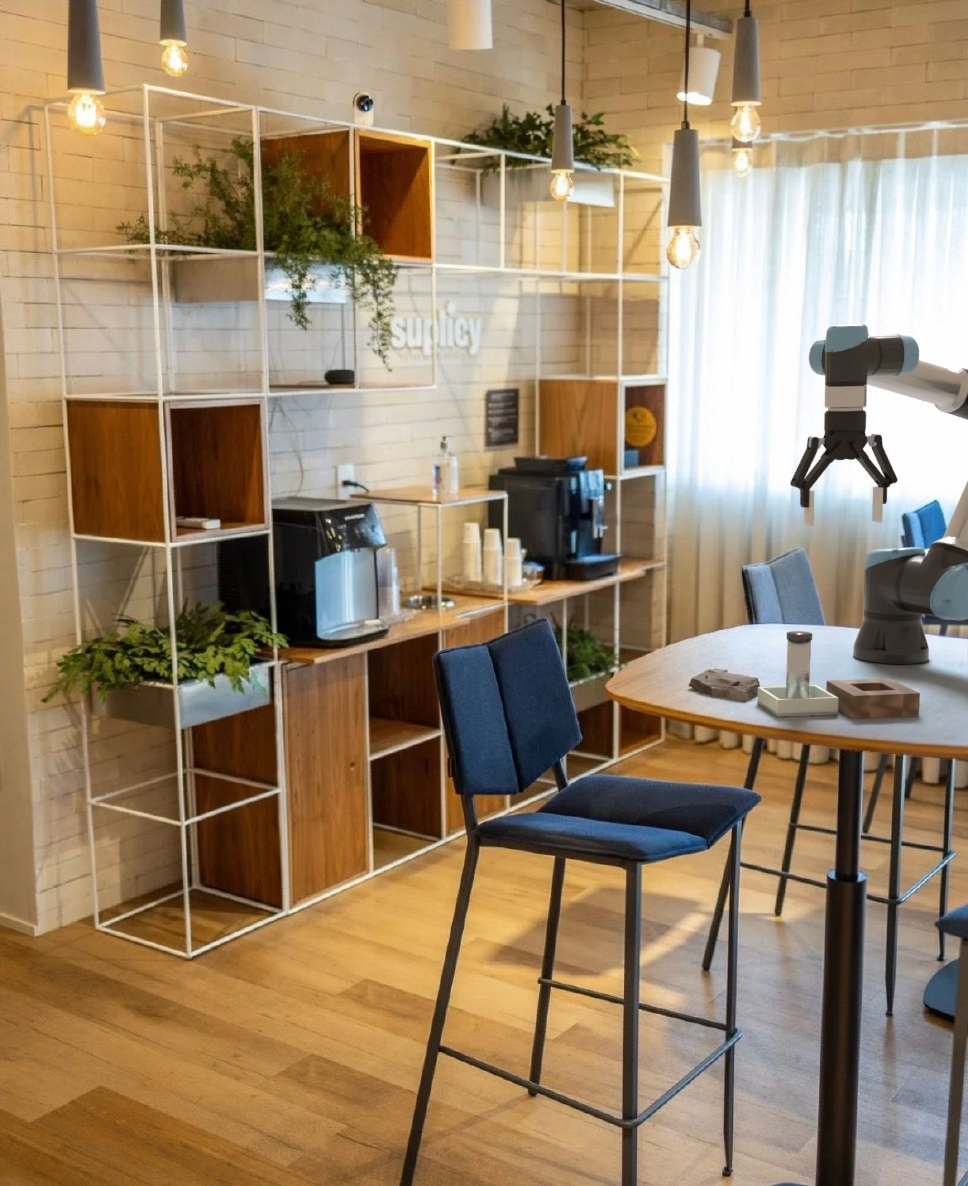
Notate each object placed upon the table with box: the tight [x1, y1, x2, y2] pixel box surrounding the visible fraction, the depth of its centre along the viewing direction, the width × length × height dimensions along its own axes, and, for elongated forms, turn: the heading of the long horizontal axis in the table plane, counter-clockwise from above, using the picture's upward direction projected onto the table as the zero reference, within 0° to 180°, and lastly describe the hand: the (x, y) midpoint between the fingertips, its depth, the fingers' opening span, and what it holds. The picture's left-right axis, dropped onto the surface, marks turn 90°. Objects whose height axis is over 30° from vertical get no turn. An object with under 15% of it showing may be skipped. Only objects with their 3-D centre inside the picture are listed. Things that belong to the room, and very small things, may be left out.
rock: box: [688, 668, 761, 702], centre depth 256 cm, size 14×9×4 cm
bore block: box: [825, 678, 921, 719], centre depth 243 cm, size 12×12×4 cm
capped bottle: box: [785, 630, 813, 699], centre depth 242 cm, size 4×4×13 cm
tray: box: [756, 684, 839, 718], centre depth 243 cm, size 11×10×3 cm
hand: (843, 523), depth 258 cm, fingers open, 13 cm apart
